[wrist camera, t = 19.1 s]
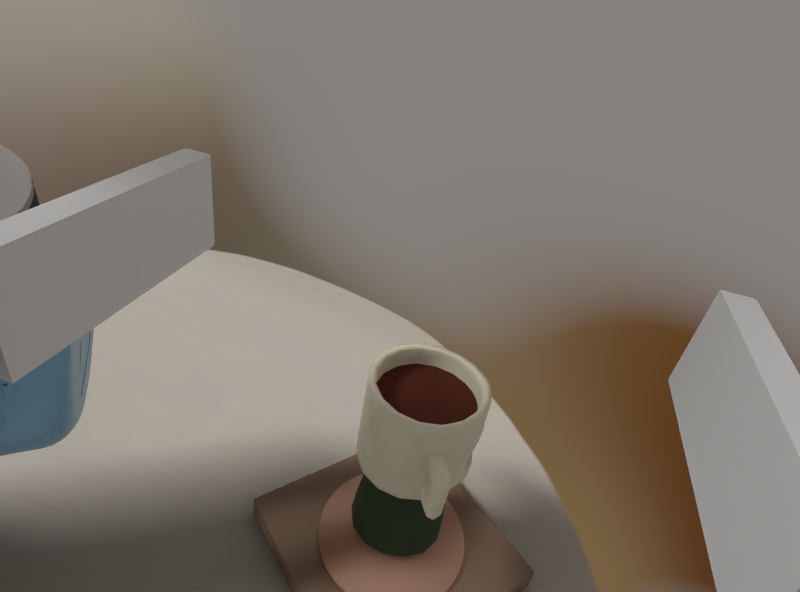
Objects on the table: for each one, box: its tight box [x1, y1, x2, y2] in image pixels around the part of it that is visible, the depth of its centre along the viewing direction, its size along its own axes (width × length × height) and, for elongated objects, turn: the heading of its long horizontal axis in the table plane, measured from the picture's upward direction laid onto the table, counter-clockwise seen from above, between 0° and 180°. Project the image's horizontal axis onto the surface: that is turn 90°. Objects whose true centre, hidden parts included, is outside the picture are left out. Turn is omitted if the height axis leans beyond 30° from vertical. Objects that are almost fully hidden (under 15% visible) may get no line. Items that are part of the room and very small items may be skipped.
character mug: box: [351, 343, 491, 557], centre depth 33 cm, size 11×7×13 cm, turn 9°
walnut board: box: [254, 455, 534, 592], centre depth 36 cm, size 14×14×2 cm
